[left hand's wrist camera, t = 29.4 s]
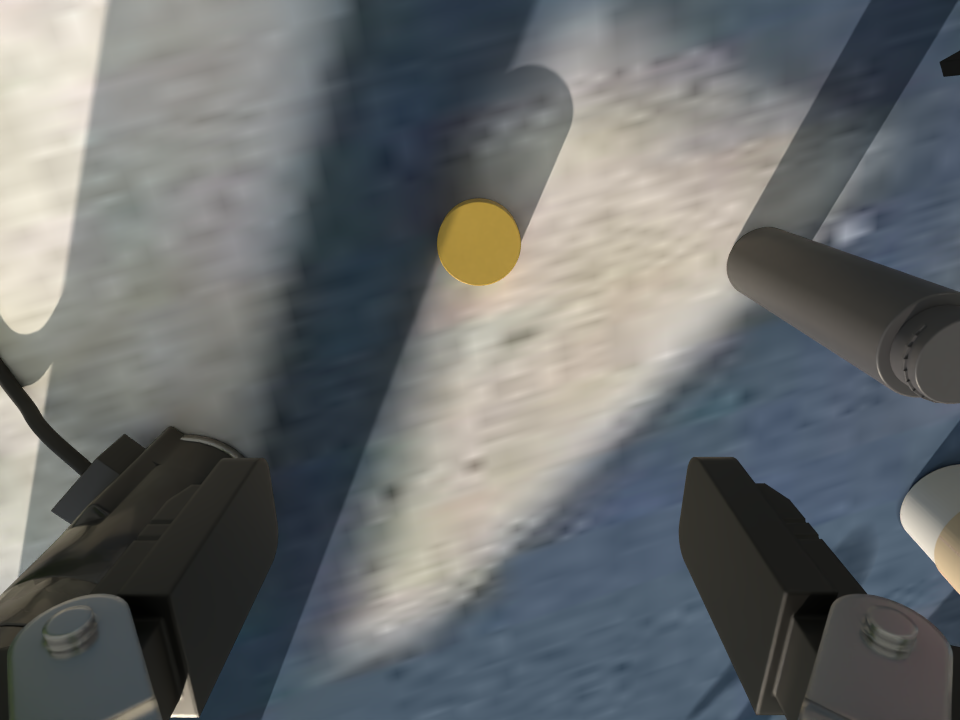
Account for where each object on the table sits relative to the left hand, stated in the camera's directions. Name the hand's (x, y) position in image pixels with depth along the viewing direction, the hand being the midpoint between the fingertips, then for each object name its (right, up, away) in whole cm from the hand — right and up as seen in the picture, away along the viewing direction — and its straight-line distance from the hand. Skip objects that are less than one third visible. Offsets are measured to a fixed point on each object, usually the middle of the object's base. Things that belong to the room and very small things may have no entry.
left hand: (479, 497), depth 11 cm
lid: (0, +10, +25) cm, 26 cm away
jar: (+18, +9, +26) cm, 33 cm away
